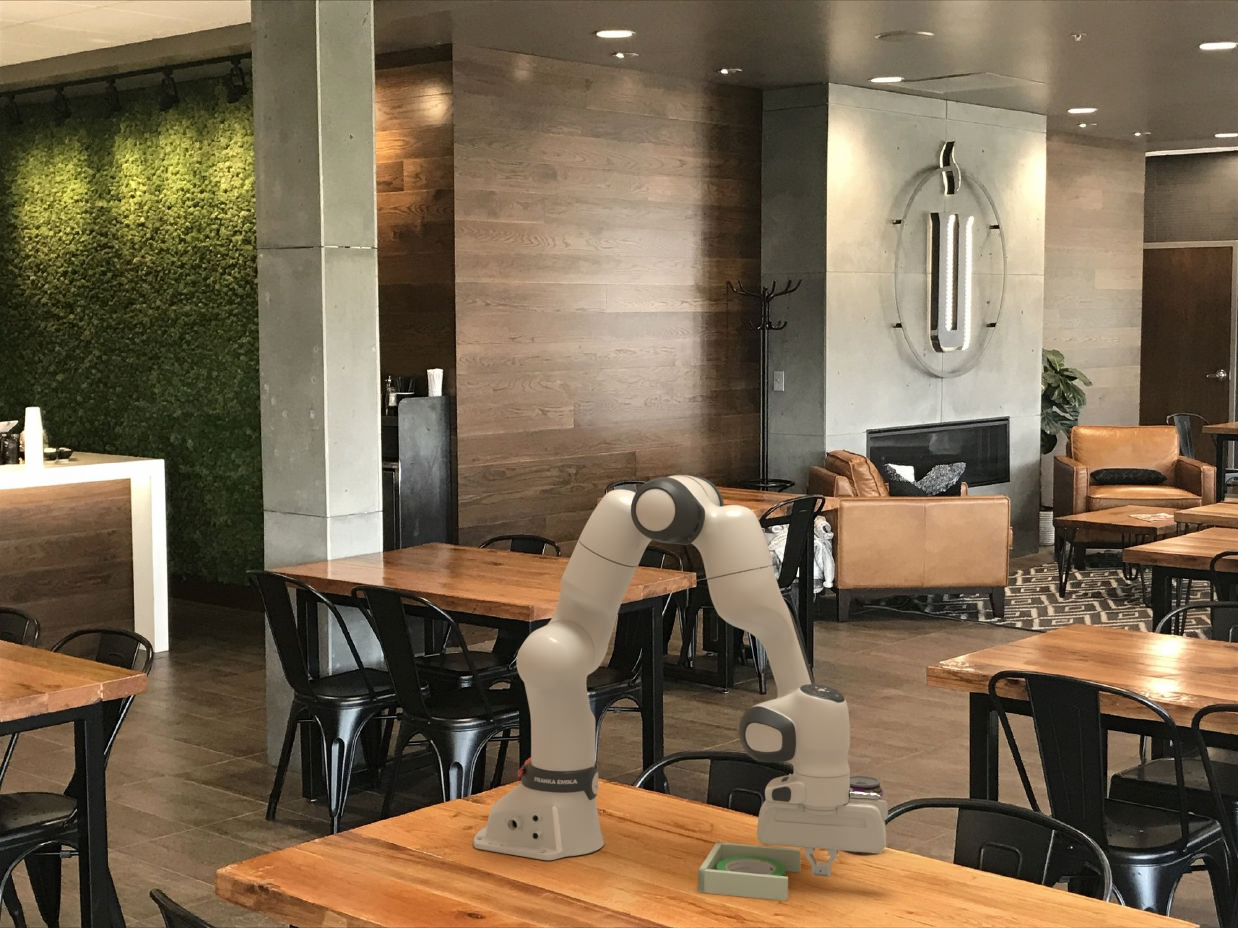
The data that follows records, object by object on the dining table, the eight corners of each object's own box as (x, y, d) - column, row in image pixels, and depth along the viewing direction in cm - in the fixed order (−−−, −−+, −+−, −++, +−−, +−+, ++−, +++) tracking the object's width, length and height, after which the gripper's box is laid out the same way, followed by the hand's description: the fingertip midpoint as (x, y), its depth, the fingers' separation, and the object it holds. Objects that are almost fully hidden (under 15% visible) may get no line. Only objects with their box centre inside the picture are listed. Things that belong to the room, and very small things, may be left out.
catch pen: (698, 892, 229) (698, 870, 229) (716, 862, 244) (716, 841, 243) (786, 900, 225) (787, 878, 225) (800, 870, 240) (800, 849, 240)
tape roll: (783, 896, 228) (784, 880, 228) (713, 892, 230) (713, 876, 230) (786, 873, 239) (786, 857, 239) (719, 869, 241) (719, 854, 241)
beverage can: (881, 856, 247) (882, 786, 246) (838, 853, 248) (839, 784, 248) (882, 844, 254) (883, 776, 253) (841, 841, 255) (842, 773, 255)
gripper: (889, 787, 231) (889, 873, 232) (761, 779, 236) (761, 863, 237) (886, 798, 225) (885, 886, 226) (755, 789, 230) (755, 875, 231)
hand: (821, 874), depth 231 cm, fingers closed
